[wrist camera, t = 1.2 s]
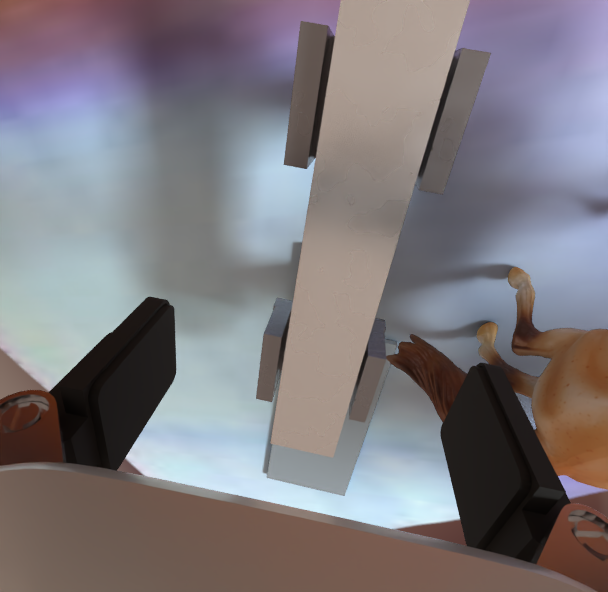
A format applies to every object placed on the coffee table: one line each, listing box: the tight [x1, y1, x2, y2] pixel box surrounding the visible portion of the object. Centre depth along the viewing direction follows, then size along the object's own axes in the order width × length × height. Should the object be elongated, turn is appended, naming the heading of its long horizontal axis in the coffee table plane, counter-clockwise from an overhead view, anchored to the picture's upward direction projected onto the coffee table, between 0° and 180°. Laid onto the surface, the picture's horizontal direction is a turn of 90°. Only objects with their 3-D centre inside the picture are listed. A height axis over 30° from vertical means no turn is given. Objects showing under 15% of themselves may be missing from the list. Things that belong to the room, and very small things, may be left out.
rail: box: [270, 0, 470, 458], centre depth 19 cm, size 4×24×4 cm, turn 171°
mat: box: [267, 339, 397, 496], centre depth 41 cm, size 10×24×1 cm, turn 171°
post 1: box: [256, 298, 386, 423], centre depth 27 cm, size 7×6×13 cm
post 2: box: [284, 21, 491, 195], centre depth 20 cm, size 7×6×13 cm
